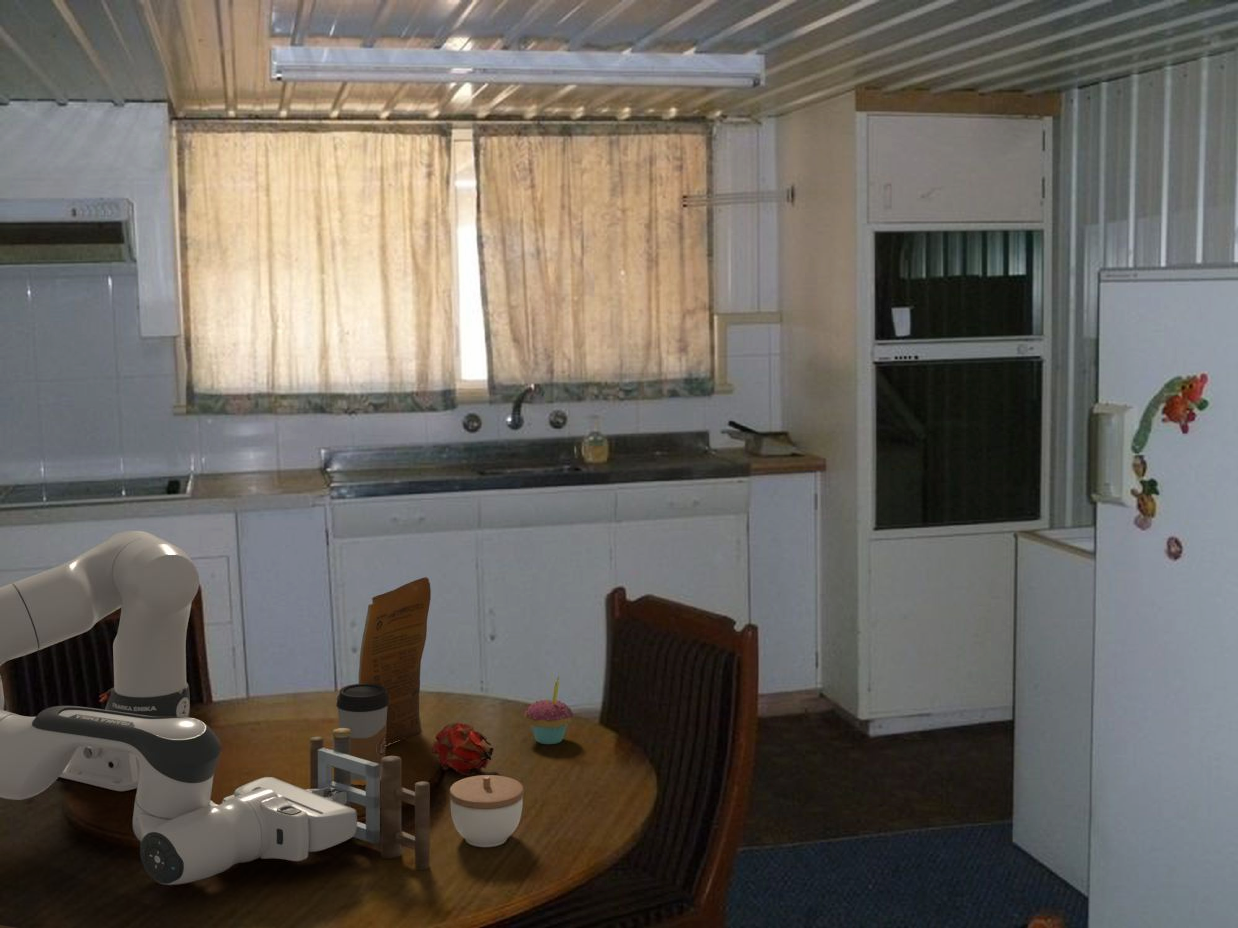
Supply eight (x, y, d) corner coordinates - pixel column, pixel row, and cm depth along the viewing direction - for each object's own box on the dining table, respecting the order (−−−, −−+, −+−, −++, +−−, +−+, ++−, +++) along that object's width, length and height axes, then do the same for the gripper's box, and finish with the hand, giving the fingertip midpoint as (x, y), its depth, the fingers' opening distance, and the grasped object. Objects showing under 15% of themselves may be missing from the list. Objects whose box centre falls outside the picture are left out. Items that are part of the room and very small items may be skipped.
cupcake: (581, 738, 242) (582, 672, 241) (554, 751, 235) (555, 684, 234) (542, 728, 247) (543, 664, 245) (514, 741, 240) (514, 675, 238)
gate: (380, 840, 195) (379, 764, 193) (374, 843, 194) (373, 766, 192) (324, 822, 201) (323, 747, 199) (318, 824, 200) (317, 749, 198)
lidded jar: (493, 860, 192) (493, 796, 190) (434, 842, 197) (434, 780, 196) (537, 834, 201) (538, 773, 199) (479, 818, 206) (480, 758, 205)
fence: (294, 820, 204) (293, 726, 202) (320, 810, 208) (318, 718, 206) (419, 871, 187) (419, 770, 185) (444, 860, 191) (445, 761, 189)
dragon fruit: (438, 767, 231) (487, 795, 224) (410, 750, 225) (460, 778, 217) (464, 723, 233) (514, 749, 226) (437, 705, 227) (487, 731, 220)
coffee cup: (377, 791, 216) (377, 699, 214) (328, 786, 218) (327, 695, 215) (396, 772, 224) (396, 684, 222) (349, 767, 226) (348, 680, 224)
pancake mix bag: (443, 728, 246) (443, 577, 242) (371, 758, 230) (370, 597, 226) (414, 721, 250) (414, 572, 246) (341, 750, 233) (340, 591, 230)
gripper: (214, 824, 193) (293, 796, 203) (306, 865, 180) (385, 833, 191) (213, 781, 192) (293, 756, 203) (306, 819, 179) (385, 790, 190)
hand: (338, 794), depth 197 cm, fingers closed
